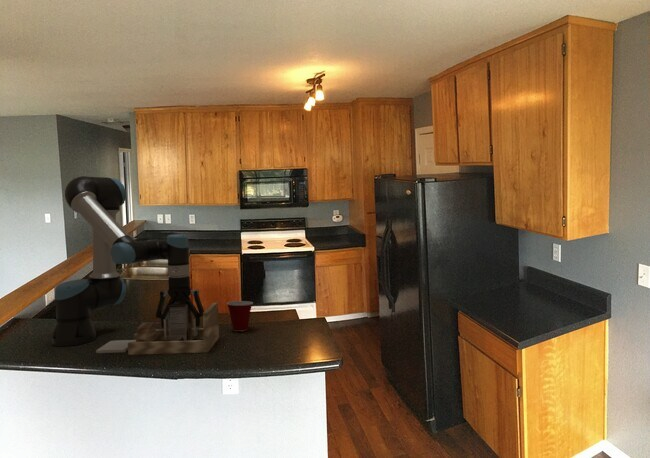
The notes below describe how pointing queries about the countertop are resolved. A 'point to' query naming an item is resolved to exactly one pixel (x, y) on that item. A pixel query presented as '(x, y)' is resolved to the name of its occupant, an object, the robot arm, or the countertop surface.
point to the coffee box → (180, 321)
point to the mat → (115, 346)
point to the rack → (190, 346)
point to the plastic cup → (240, 314)
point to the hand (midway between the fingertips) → (181, 335)
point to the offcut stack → (146, 333)
